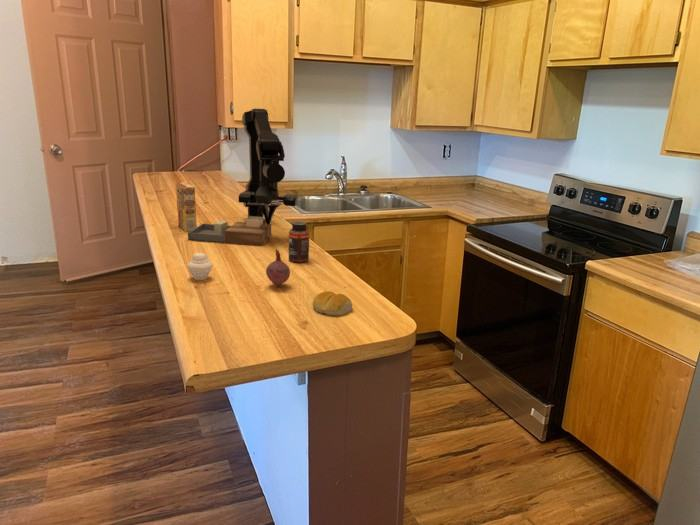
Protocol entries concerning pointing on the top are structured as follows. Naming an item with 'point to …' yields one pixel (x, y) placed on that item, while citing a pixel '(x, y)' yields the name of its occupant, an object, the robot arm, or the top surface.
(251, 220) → the cream tile
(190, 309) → the top surface
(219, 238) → the tray
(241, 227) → the walnut board
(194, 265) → the white lidded jar
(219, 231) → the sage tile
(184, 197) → the candy box
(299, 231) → the supplement bottle
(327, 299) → the bread roll
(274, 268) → the vegetable
